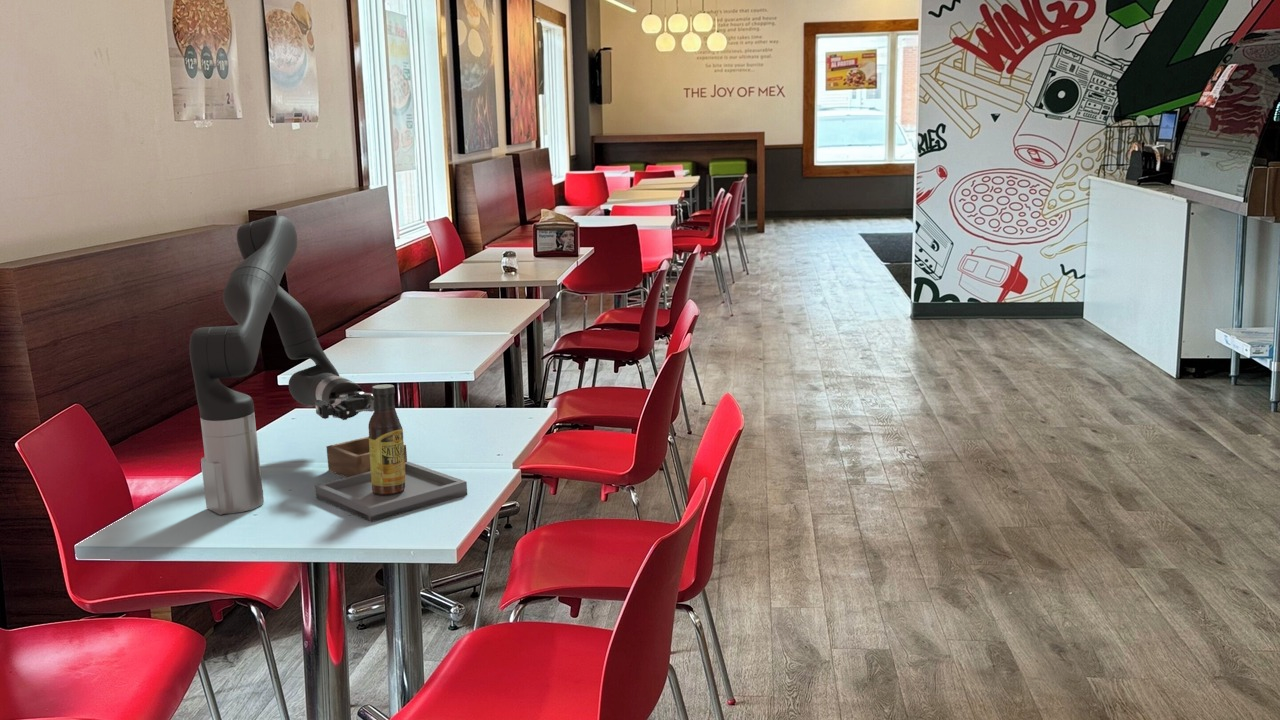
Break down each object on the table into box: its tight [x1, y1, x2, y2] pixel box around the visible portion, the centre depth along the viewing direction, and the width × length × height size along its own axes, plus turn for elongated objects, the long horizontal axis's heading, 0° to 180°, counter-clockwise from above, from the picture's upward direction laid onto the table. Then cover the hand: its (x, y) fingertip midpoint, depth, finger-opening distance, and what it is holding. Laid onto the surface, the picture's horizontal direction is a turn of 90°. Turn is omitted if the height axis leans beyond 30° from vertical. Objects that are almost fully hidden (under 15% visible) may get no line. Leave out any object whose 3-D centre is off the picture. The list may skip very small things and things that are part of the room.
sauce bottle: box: [368, 383, 406, 495], centre depth 208 cm, size 7×6×20 cm
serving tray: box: [314, 461, 468, 523], centre depth 210 cm, size 20×20×2 cm
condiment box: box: [325, 436, 408, 478], centre depth 227 cm, size 11×12×5 cm
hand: (367, 411), depth 215 cm, fingers open, 8 cm apart
